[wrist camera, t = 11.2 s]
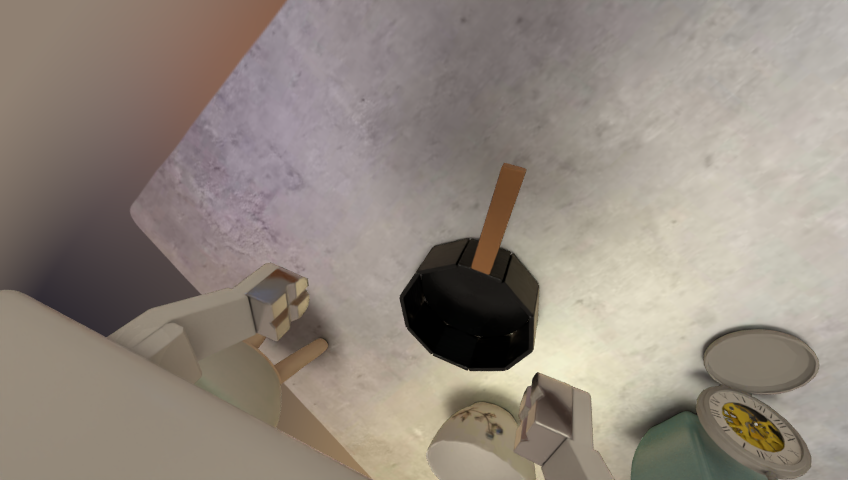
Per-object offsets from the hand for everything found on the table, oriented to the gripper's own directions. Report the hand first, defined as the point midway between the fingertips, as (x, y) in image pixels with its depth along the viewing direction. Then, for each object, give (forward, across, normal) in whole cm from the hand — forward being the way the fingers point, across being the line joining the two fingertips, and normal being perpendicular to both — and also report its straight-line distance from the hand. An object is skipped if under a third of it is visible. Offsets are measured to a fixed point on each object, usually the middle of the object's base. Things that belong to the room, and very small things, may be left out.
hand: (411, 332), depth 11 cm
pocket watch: (+19, -24, +11) cm, 32 cm away
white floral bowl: (+19, -8, +35) cm, 40 cm away
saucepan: (+19, -1, +10) cm, 22 cm away
